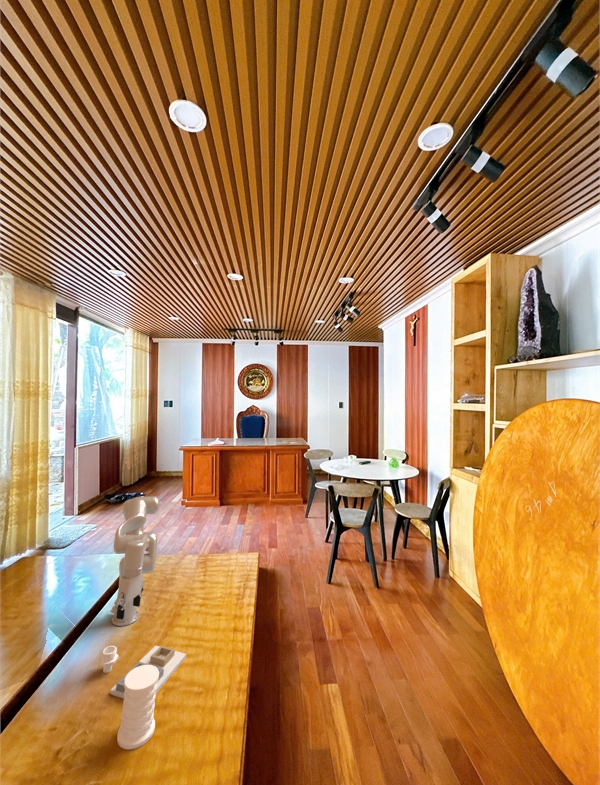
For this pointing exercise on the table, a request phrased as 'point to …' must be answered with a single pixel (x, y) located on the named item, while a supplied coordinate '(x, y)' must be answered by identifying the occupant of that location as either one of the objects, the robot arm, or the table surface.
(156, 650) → the board
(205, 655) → the table surface
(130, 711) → the white carved column
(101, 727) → the table surface
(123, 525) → the robot arm
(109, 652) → the pipe fitting
